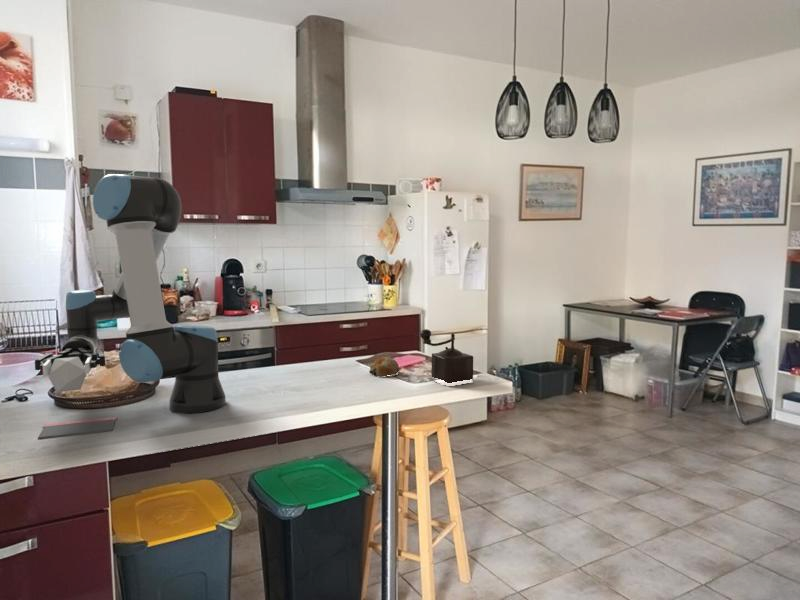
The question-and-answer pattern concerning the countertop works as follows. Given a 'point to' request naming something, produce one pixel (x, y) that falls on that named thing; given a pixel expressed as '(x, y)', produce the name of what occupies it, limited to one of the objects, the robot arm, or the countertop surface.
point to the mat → (76, 429)
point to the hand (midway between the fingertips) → (66, 369)
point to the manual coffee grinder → (449, 361)
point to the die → (67, 374)
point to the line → (80, 422)
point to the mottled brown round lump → (384, 367)
